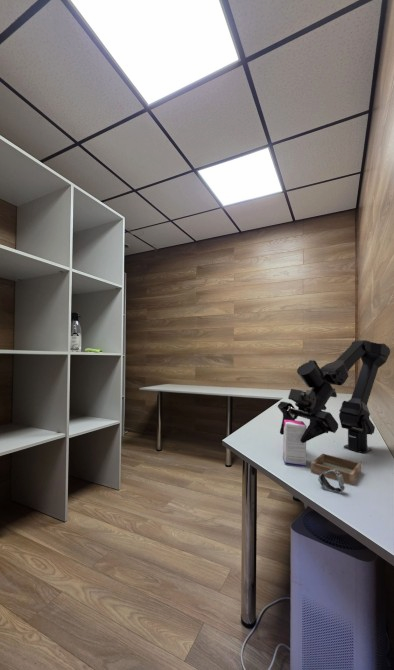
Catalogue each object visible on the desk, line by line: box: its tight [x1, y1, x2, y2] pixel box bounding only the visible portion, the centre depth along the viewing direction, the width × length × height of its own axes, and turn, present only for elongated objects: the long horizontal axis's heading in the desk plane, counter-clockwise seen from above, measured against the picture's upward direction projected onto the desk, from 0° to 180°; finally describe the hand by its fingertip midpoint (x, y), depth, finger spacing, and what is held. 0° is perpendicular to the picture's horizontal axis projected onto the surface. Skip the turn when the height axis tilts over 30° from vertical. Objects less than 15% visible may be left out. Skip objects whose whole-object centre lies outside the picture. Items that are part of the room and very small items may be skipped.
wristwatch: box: [317, 469, 346, 494], centre depth 63 cm, size 3×5×5 cm
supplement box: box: [282, 420, 308, 468], centre depth 79 cm, size 6×6×12 cm
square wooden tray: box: [310, 453, 362, 486], centre depth 72 cm, size 10×10×2 cm
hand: (290, 437), depth 78 cm, fingers closed on supplement box, 8 cm apart
